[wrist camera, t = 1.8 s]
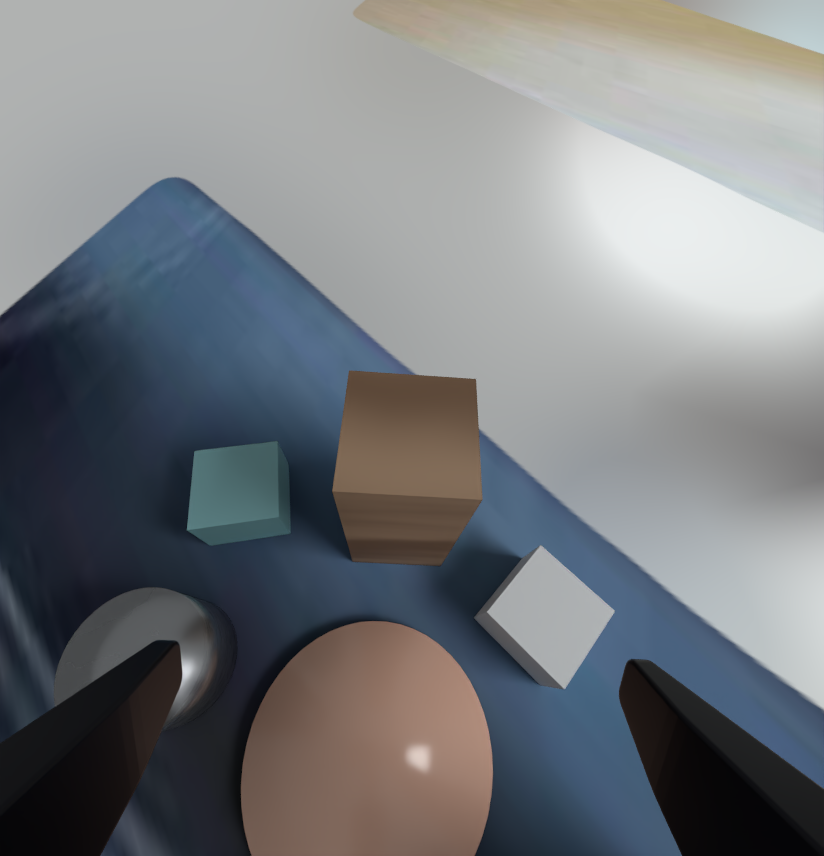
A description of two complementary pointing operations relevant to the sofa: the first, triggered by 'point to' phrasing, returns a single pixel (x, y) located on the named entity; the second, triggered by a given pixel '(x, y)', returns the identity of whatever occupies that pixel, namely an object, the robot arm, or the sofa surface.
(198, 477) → the teal block
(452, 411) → the walnut block
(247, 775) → the coaster
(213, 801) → the sofa surface
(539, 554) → the grey block
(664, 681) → the robot arm
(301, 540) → the sofa surface
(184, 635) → the metal bowl
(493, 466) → the sofa surface
